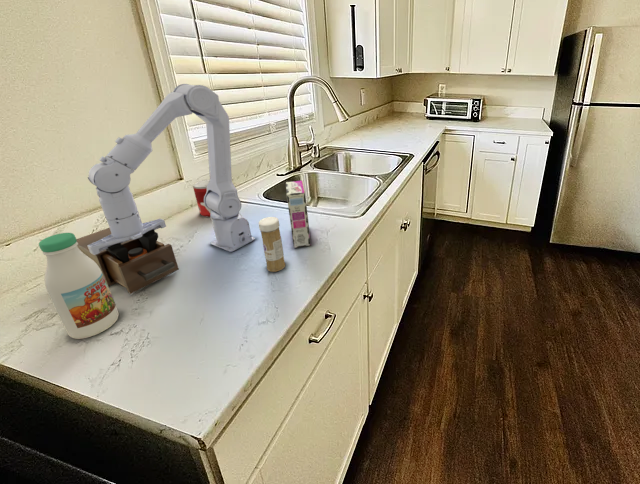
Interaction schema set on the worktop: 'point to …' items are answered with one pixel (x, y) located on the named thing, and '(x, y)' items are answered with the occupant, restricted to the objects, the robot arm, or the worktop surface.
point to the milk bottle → (77, 288)
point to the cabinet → (96, 258)
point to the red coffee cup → (201, 196)
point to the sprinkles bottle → (272, 243)
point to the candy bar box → (298, 213)
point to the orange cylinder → (136, 253)
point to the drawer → (141, 266)
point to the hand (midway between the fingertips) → (140, 265)
